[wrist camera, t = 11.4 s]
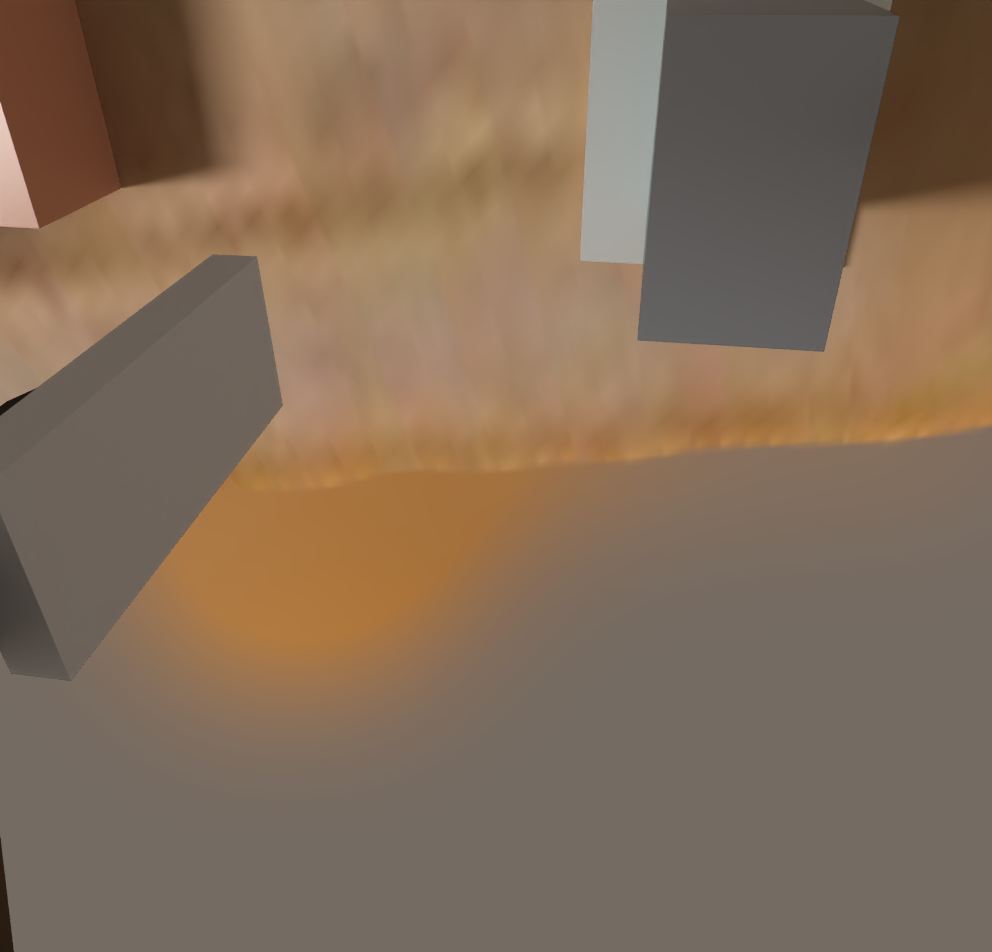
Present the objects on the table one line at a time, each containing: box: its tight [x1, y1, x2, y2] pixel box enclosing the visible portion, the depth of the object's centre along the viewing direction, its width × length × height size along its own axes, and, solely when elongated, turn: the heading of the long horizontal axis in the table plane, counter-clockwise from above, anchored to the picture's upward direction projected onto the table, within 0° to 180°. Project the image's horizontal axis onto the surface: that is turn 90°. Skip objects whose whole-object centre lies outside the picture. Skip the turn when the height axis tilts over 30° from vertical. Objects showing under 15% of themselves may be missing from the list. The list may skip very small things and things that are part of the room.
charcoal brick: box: [638, 0, 900, 352], centre depth 23 cm, size 5×8×6 cm, turn 1°
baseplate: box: [580, 0, 893, 264], centre depth 31 cm, size 10×12×1 cm
